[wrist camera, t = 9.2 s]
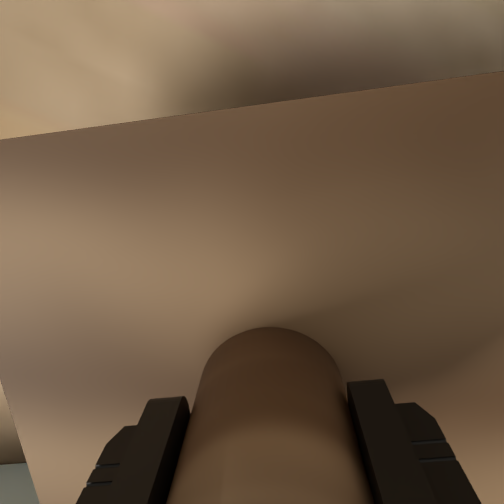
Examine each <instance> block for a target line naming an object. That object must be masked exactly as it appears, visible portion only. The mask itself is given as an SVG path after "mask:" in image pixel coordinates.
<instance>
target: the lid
mask: <svg viewBox="0 0 504 504" xmlns="http://www.w3.org/2000/svg"><path fill="white" fill-rule="evenodd" d="M375 379H384V381H385V382H386V385H387V387H388V389H389V392H390V394H391V396H392V399H393V401H394V403H395V404H399V403H411V402H415V403H417V404H418V405H419V406H420V407H422V408H423V409H424V410H425V411H427V412H428V413H429V414H430V415H432V416H433V417H434V418H435V419H436V421H437V423H438V425H439V426H440V428H441V430H442V432H443V434H444V436H445V437H446V441H447V443H449V445H450V447H451V448H452V450H453V452H454V454H455V456H456V460H457V461H459V463H460V465H461V467H462V469H463V470H464V472H465V474H466V476H467V478H468V480H469V481H470V483H471V485H472V487H473V489H474V491H475V492H476V494H477V496H478V498H479V500H480V502H481V503H482V504H504V71H500V72H493V73H486V74H478V75H471V76H464V77H456V78H449V79H442V80H434V81H427V82H420V83H412V84H405V85H398V86H390V87H383V88H376V89H368V90H361V91H354V92H346V93H339V94H332V95H325V96H317V97H310V98H303V99H295V100H288V101H281V102H273V103H266V104H259V105H251V106H244V107H237V108H229V109H222V110H215V111H207V112H200V113H193V114H185V115H178V116H171V117H163V118H156V119H149V120H141V121H134V122H127V123H120V124H112V125H105V126H98V127H90V128H83V129H76V130H68V131H61V132H54V133H46V134H39V135H32V136H24V137H17V138H10V139H2V140H0V380H1V384H2V387H3V390H4V393H5V396H6V399H7V402H8V405H9V409H10V412H11V415H12V418H13V421H14V424H15V427H16V430H17V434H18V437H19V440H20V443H21V446H22V449H23V452H24V455H25V459H26V462H27V465H28V468H29V471H30V474H31V477H32V480H33V484H34V487H35V490H36V493H37V496H38V499H39V502H40V504H76V502H77V500H78V498H79V496H80V494H81V492H82V490H83V488H84V487H86V482H87V480H88V478H89V476H90V474H91V473H92V471H93V469H95V465H96V463H97V461H98V459H99V457H100V455H101V453H102V451H103V449H104V447H105V445H106V444H107V443H108V442H109V441H110V440H111V439H112V438H113V437H114V436H115V435H116V434H117V433H118V432H119V431H120V430H121V429H122V428H123V427H124V426H131V425H137V424H138V422H139V420H140V417H141V415H142V413H143V411H144V408H145V406H146V404H147V402H148V400H149V399H155V398H166V397H178V396H185V397H186V398H187V401H188V404H189V409H190V414H191V415H190V419H189V422H188V426H187V429H186V433H185V437H184V440H183V444H182V448H181V451H180V455H179V458H178V462H177V466H176V469H175V473H174V476H173V480H172V484H171V487H170V491H169V495H168V498H167V502H166V504H375V503H374V499H373V495H372V491H371V488H370V484H369V480H368V476H367V473H366V469H365V465H364V461H363V458H362V454H361V450H360V447H359V443H358V439H357V435H356V432H355V428H354V424H353V420H352V417H351V413H350V409H349V405H348V399H347V382H352V381H363V380H375Z"/></svg>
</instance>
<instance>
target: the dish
mask: <svg viewBox="0 0 504 504" xmlns="http://www.w3.org/2000/svg"><path fill="white" fill-rule="evenodd" d="M0 504H40V502H39V499H38V496H37V493H36V490H35V487H34V484H33V480H32V477H31V474H30V471H29V468H28V465H27V463H18V464H6V465H0Z"/></svg>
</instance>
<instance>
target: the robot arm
mask: <svg viewBox="0 0 504 504" xmlns="http://www.w3.org/2000/svg"><path fill="white" fill-rule="evenodd" d="M347 399H348V405H349V409H350V413H351V417H352V420H353V424H354V428H355V432H356V435H357V439H358V443H359V447H360V450H361V454H362V458H363V461H364V465H365V469H366V473H367V476H368V480H369V484H370V488H371V491H372V495H373V499H374V503H375V504H482V503H481V502H480V500H479V498H478V496H477V494H476V492H475V491H474V489H473V487H472V485H471V483H470V481H469V480H468V478H467V476H466V474H465V472H464V470H463V469H462V467H461V465H460V463H459V461H457V460H456V456H455V454H454V452H453V450H452V448H451V447H450V445H449V443H447V441H446V437H445V436H444V434H443V432H442V430H441V428H440V426H439V425H438V423H437V421H436V419H435V418H434V417H433V416H432V415H430V414H429V413H428V412H427V411H425V410H424V409H423V408H422V407H420V406H419V405H418V404H417V403H415V402H411V403H399V404H395V403H394V401H393V399H392V396H391V394H390V392H389V389H388V387H387V385H386V382H385V381H384V379H375V380H363V381H352V382H347ZM190 415H191V414H190V409H189V404H188V401H187V398H186V397H185V396H178V397H166V398H155V399H149V400H148V402H147V404H146V406H145V408H144V411H143V413H142V415H141V417H140V420H139V422H138V424H137V425H131V426H124V427H123V428H122V429H121V430H120V431H119V432H118V433H117V434H116V435H115V436H114V437H113V438H112V439H111V440H110V441H109V442H108V443H107V444H106V445H105V447H104V449H103V451H102V453H101V455H100V457H99V459H98V461H97V463H96V465H95V469H93V471H92V473H91V474H90V476H89V478H88V480H87V482H86V487H84V488H83V490H82V492H81V494H80V496H79V498H78V500H77V502H76V504H166V502H167V498H168V495H169V491H170V487H171V484H172V480H173V476H174V473H175V469H176V466H177V462H178V458H179V455H180V451H181V448H182V444H183V440H184V437H185V433H186V429H187V426H188V422H189V419H190Z"/></svg>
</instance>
